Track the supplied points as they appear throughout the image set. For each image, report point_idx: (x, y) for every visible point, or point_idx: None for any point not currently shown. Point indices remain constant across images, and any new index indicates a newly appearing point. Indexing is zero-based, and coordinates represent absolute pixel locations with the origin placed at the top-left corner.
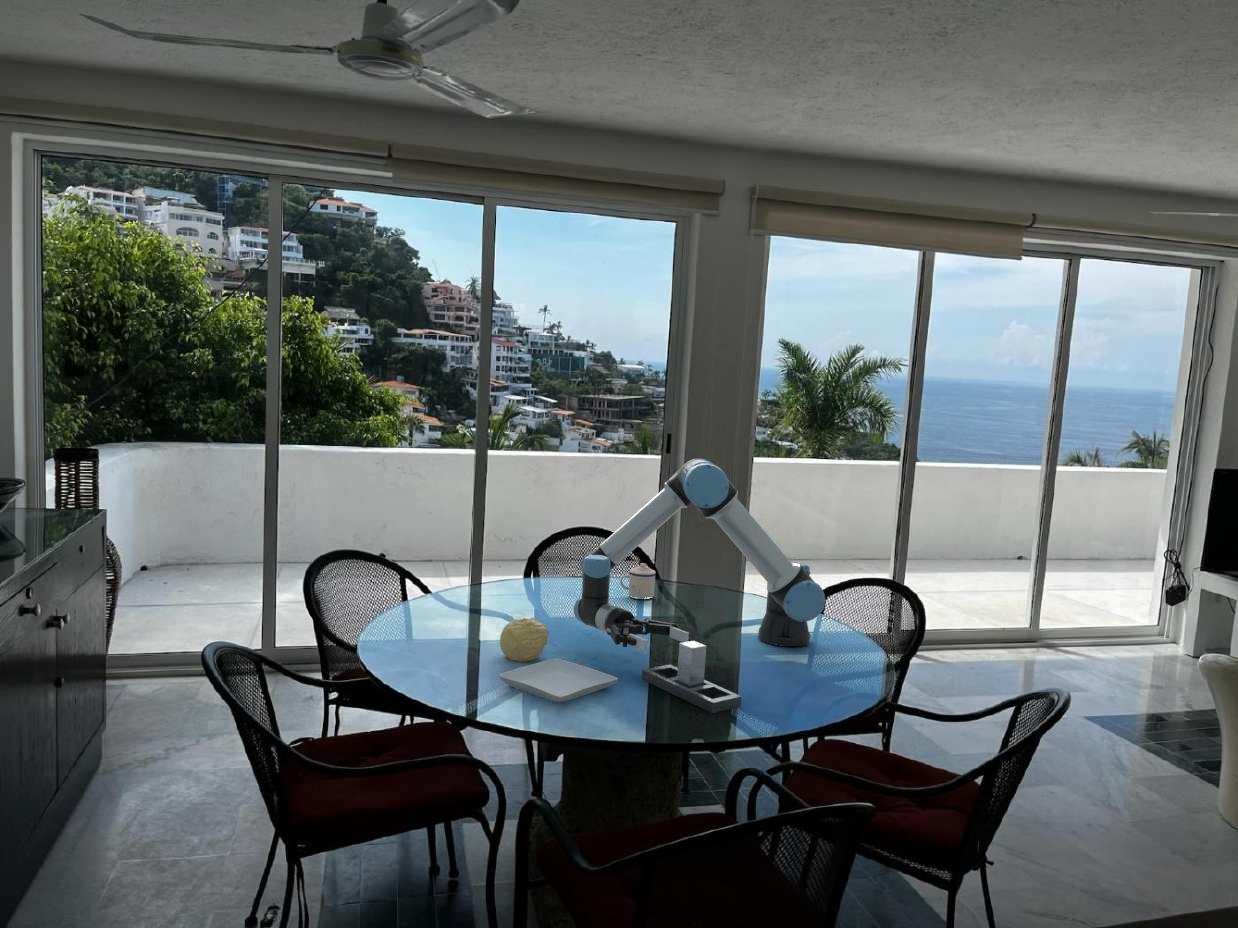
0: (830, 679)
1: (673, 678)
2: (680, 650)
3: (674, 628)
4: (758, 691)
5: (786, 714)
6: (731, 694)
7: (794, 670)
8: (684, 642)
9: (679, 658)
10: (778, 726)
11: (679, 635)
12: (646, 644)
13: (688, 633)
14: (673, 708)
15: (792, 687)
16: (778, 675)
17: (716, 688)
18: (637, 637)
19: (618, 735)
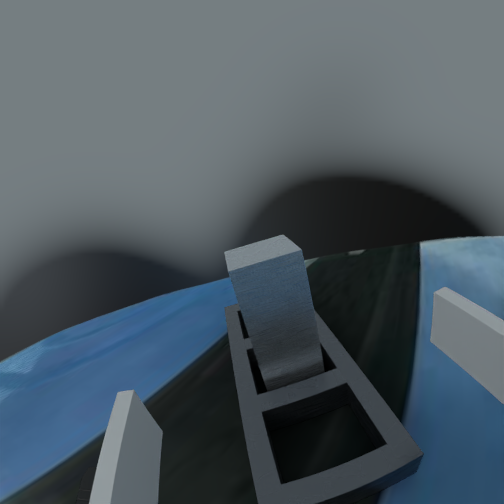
0: (19, 380)
1: (326, 383)
2: (304, 272)
3: (111, 492)
4: (138, 372)
5: (188, 307)
6: (236, 312)
7: (4, 418)
8: (278, 256)
9: (310, 300)
10: (230, 284)
11: (141, 460)
12: (436, 310)
13: (122, 395)
14: (366, 310)
15: (78, 373)
16: (37, 415)
17: (242, 334)
18: (492, 315)
19: (452, 244)
